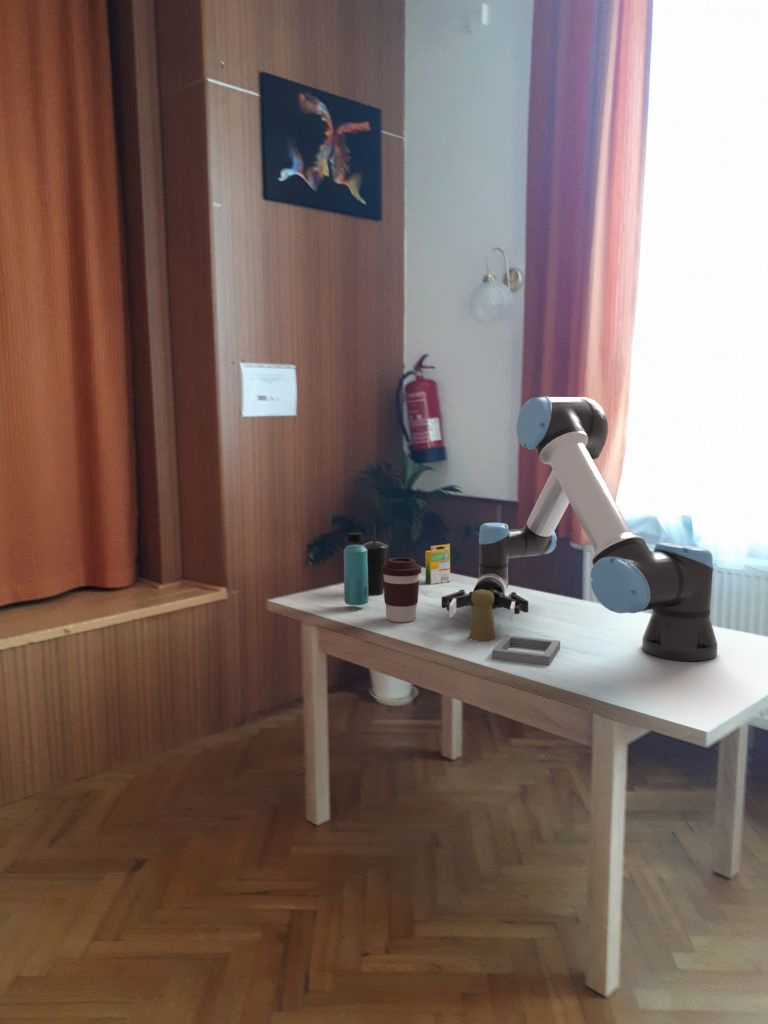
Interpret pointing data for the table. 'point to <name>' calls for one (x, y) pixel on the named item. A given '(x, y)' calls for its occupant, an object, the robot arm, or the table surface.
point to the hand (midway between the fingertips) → (480, 612)
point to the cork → (482, 616)
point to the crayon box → (438, 564)
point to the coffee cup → (401, 588)
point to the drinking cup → (375, 564)
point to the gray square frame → (529, 657)
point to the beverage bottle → (355, 571)
